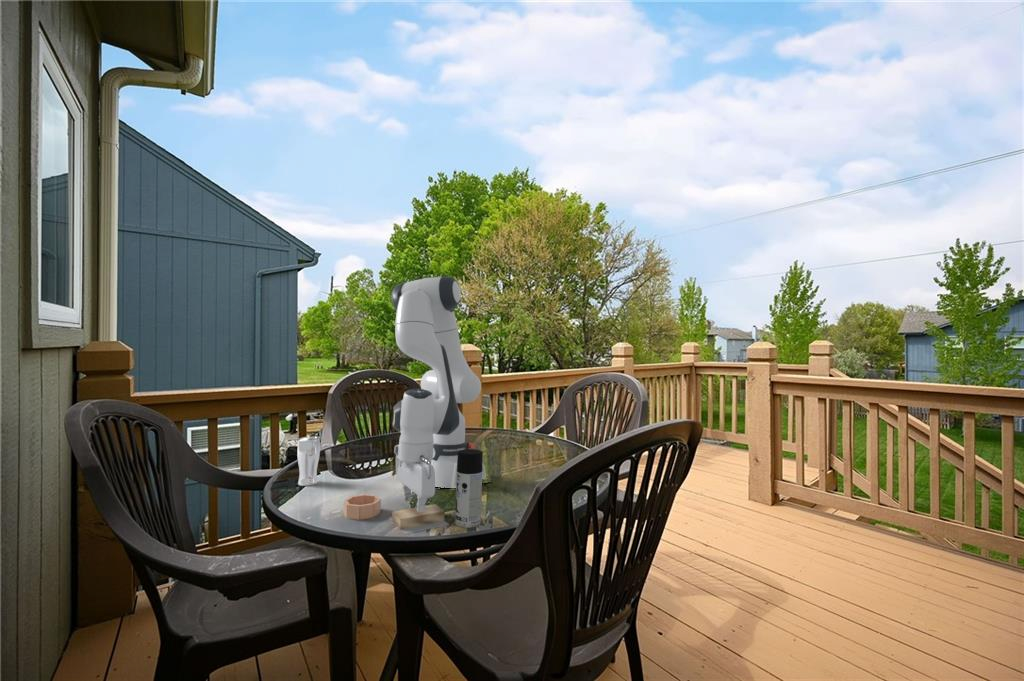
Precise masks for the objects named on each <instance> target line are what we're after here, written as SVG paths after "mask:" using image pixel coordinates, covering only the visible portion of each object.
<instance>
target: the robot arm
mask: <svg viewBox="0 0 1024 681" xmlns="http://www.w3.org/2000/svg"><path fill="white" fill-rule="evenodd" d="M461 292H462V290H461V288H460V285H459V282H458V281H457V279H455V278H454V277H453V276H449V275H448V276H444V275H443V276H440V277H439V276H438V277H437V276H436V277H434V276H433V277H423V278H420V279H415V280H412V281H403V282H401V283H397V284H396V285H395V286H394V288H393V289H392V291H391V303H392V304H391V305H392V306H393V309H394V310H395V311H396V314H395V325H394V327H395V328H394V330H395V331H394V335H395V343H396V346H397V347H398V349H399V350H400V351H401V352H402V353H403V354H404V355H406V356H408V357H410V358H411V359H414V360H417V361H419V362H421V363H424V364H425V365H427V366H429V367H430V368H431V369H430V370H428V371H426V372H425V373H424V374H422V377H421V379H420V388H412V389H407V390H406V391H404V393H403V398H402V399H401V400H399V401H397V403H396V404H394V405H393V408H392V409H393V420H392V424H391V425H392V427H393V429H394V430H395V431H397V432H398V433H400V436H399V438H398V439H399V441H398V444H396V445H395V446H394V451H393V453H394V454H395V475H396V480H398V481H399V482H401V486H402V490H403V500H404V501H405V502H411V501H412V499H413V494H412V492H413V493H414V494H415V495H416V496H417V502H416V503H415V508H416V510H417V511H418V512H423V511H424V508H425V506H426V504H427V501H428V498H433V497H434V496H435V493H436V488H435V487H441V488H444V487H445V488H456V485H457V459H458V451H460V450H466V449H474V448H475V447H476V445H475V443H474V442H473V443H472V442H468V441H466V418H465V417H464V415H463V413H462V412H461V411H460V409H459V406H458V405H459V404H467V403H472V402H474V401H476V400H477V399H478V398H479V396H480V394H481V391H482V383H481V379H480V378H479V377H478V376H477V375H476V374H475V373H474V371H473V370H472V369H471V368H470V366H469V364H468V362H467V360H466V358H465V355H464V353H463V350H462V345H461V341H460V336H459V329H458V323H457V318H456V314H455V312H454V311H455V309H456V308H457V307H458V306H459V305H460V303H461V296H462V293H461ZM474 450H475V449H474ZM482 470H483V471H482V479H485V478H486V474H487V473H486V467H485V464H484V463H483V469H482Z"/></svg>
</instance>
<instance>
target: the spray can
mask: <svg viewBox="0 0 1024 681" xmlns="http://www.w3.org/2000/svg"><path fill="white" fill-rule="evenodd" d="M483 453H484V452H483V451H482V450H479V449H470V448H469V449H466V450H460V451H458V459H457V485H456V489H455V490H456V491H455V517H454V518H455V522H454V523H455V525H456V526H458V527H459V528H475V527H477V526H480V525H481V523H482V522H481V521H482V494H483V491H482V490H483V485H482V471H483V470H482V469H483V464H484V461H483V460H484V458H483V457H484V456H483V455H484V454H483Z"/></svg>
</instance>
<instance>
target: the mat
mask: <svg viewBox="0 0 1024 681" xmlns="http://www.w3.org/2000/svg"><path fill="white" fill-rule="evenodd" d="M388 519H389V520H390V522H392V516H391V517H388ZM445 526H450V524H449V523H448V522H447V521H446V520H444V521H441V522H436V523H431V524H426V525H421V526H416V527H411V528H406V529H401V530H400V532H401V533H402V534H404V535H407V534H412V533H416V532H421V531H427V530H431V529H434V528H435V529H436V528H440V527H445Z"/></svg>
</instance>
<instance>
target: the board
mask: <svg viewBox="0 0 1024 681" xmlns="http://www.w3.org/2000/svg"><path fill="white" fill-rule="evenodd" d="M391 514H392V515H391V517H392V521H391V522H392V523H393V524H394V526H396V527H397V529H398V530H400V531H401V529H406V528H411V527H416V526H421V525H426V524H431V523H436V522H441V521H445V510H444V509H443V508H442V507H440V506H439V505H437V504H436V503H434V504H428V505H427V504H426V505H425V508H424V511H423V512H418V511H417V510H416V507H409V508H405V509H400V510H394V511H392V513H391Z"/></svg>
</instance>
